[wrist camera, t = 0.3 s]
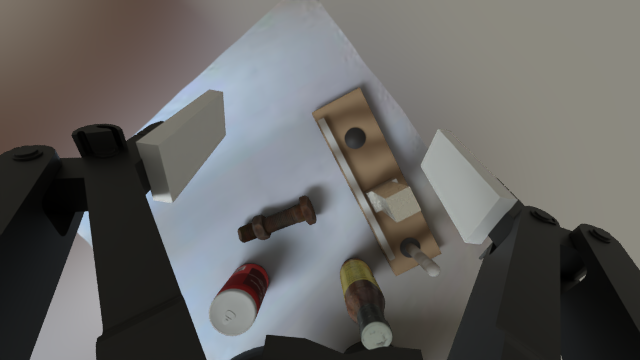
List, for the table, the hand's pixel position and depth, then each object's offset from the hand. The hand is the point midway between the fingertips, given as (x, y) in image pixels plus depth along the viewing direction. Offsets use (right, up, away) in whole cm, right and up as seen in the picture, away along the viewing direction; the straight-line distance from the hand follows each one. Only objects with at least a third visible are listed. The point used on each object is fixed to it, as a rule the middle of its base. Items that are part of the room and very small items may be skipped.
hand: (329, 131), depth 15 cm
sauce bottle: (+7, -22, +36) cm, 42 cm away
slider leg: (+12, -6, +32) cm, 34 cm away
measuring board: (+11, -4, +34) cm, 36 cm away
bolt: (-9, -11, +35) cm, 38 cm away
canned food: (-15, -24, +36) cm, 45 cm away
